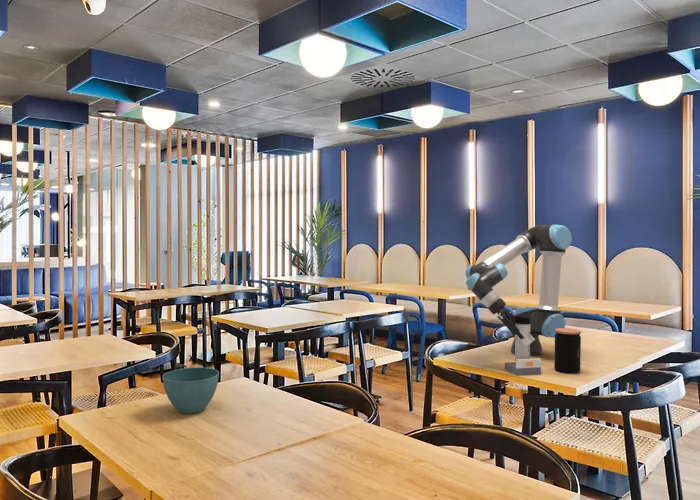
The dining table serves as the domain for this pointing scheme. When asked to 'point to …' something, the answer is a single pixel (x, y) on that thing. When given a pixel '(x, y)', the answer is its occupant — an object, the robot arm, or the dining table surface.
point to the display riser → (524, 366)
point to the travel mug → (520, 347)
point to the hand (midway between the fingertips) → (530, 342)
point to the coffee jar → (567, 350)
